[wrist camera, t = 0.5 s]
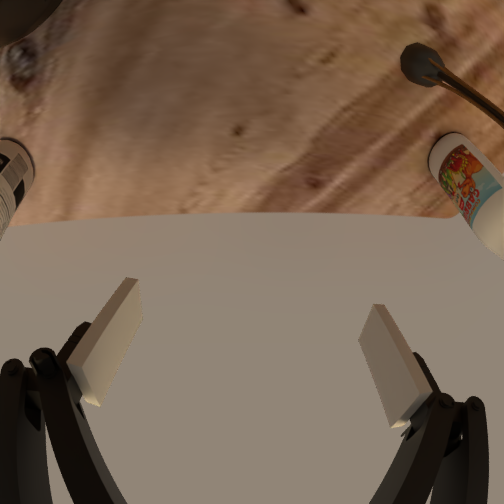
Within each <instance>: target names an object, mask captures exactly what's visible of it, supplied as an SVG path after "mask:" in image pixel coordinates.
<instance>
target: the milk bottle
mask: <svg viewBox="0 0 504 504" xmlns="http://www.w3.org/2000/svg"><path fill="white" fill-rule="evenodd" d="M429 168H430V171H431V173H432V175H433V176H434V178H435V179H436V180H437V181H438V183H439V184H440V185H441V187H442V188H443V189H444V191H445V192H446V193H447V195H448V196H449V197H450V199H451V200H452V202H453V203H454V204H455V206H456V207H457V209H458V210H459V211H460V213H461V214H462V216H463V217H464V218H465V220H466V222H467V223H468V224H469V226H470V228H471V229H472V230H473V232H474V233H475V235H476V236H477V237H478V239H479V240H480V241H481V242H482V243H483V244H484V245H485V246H486V247H487V248H488V249H489V250H491V251H492V252H494V253H495V254H496V255H498V256H499V257H500V258H501V259H503V260H504V177H503V176H502V174H501V173H500V172H499V171H498V170H497V168H496V167H495V166H494V165H493V164H492V163H491V162H490V161H489V160H488V159H487V158H486V156H485V155H484V154H483V153H482V152H481V151H480V150H479V149H478V148H477V147H476V146H475V145H474V144H473V143H472V142H470V141H469V140H468V139H467V138H466V137H465V136H463V135H461V134H458V133H451V134H448V135H445V136H444V137H442V138H441V139H440V140H439V141H438V142H437V143H436V144H435V146H434V147H433V149H432V151H431V153H430V157H429Z"/></svg>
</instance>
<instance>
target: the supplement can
mask: <svg viewBox="0 0 504 504" xmlns="http://www.w3.org/2000/svg"><path fill="white" fill-rule="evenodd" d="M32 182H33V167H32V164H31V161H30V158H29V156H28V154H27V153H26V151H25V150H24V149H23V148H22V147H21V146H20V145H19V144H17V143H14V142H12V141H9V140H0V240H1V238H2V236H3V234H4V232H5V230H6V228H7V226H8V224H9V223H10V221H11V219H12V217H13V215H14V213H15V212H16V210H17V208H18V206H19V205H20V203H21V201H22V200H23V198H24V196H25V195H26V193H27V192H28V190H29V189H30V187H31V184H32Z"/></svg>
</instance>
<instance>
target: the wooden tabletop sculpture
mask: <svg viewBox="0 0 504 504" xmlns="http://www.w3.org/2000/svg"><path fill="white" fill-rule="evenodd" d="M401 70H402V72H403V73H404V74H405V76H406V77H407V78H408V80H409V81H411V82H413V83H416V84H419V85H422V86H425V87H433V86H435V85H439V86H441V87H444V88H446V89H448V90H450V91H452V92H454V93H456V94H458V95H459V96H461V97H463V98H464V99H466V100H467V101H469V102H470V103H472V104H473V105H475V106H476V107H477V108H479V109H480V110H481V111H483V112H484V113H485V114H487V115H488V116H489V117H490V118H492V119H493V120H494V121H495V122H496V123H498V124H499V125H500V126H501V127H502V128H503V129H504V112H503V111H502V110H501V109H500V108H498V107H497V106H496V105H495V104H493V103H492V102H491V101H489V100H488V99H487V98H485V97H484V96H483V95H481V94H480V93H479V92H477V91H476V90H475V89H473V88H472V87H470V86H469V85H468V84H466V83H465V82H464V81H462V80H461V79H460V78H458V77H457V76H456V75H454V74H453V73H452V72H451V71H449V70H448V69H447V68H446V67H445V64H444V63H443V61H442V59H441V58H440V56H439V55H438V53H437V52H436V51H435V50H433V49H432V48H429V47H427V46H425V45H422V44H420V43H414V44H411V45H409V46H406V48H405V50H404V52H403V53H402V55H401ZM445 73H446V74H447V75H446V74H445ZM448 75H449V76H448ZM442 80H443V81H444V82H446V83H447V84H449V85H451V86H452V87H454V88H455V89H454V88H452V87H451V86H449V85H447V84H445V83H443V82H442ZM456 89H457V90H456Z"/></svg>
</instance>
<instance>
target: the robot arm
mask: <svg viewBox="0 0 504 504" xmlns="http://www.w3.org/2000/svg"><path fill="white" fill-rule="evenodd" d="M61 1H62V0H0V48H1V47H4V46H6V45H8V44H10V43H13V42H15V41H17V40H19V39H21V38H23V37H25V36H26V35H28V34H29V33H31V32H32V31H33V30H35V29H36V28H37V27H38V26H39V25H41V24H42V23H43V22H44V21H45V20H46V19H47V18H48V17H49V16H50V14H51V13H52V12H53V11H54V10H55V9H56V7H57V6H58V5H59V4H60V2H61ZM142 320H143V315H142V306H141V298H140V290H139V280H138V279H133V278H127V277H126V278H125V280H124V281H123V282H122V284H121V285H120V286H119V287H118V289H117V290H116V291H115V293H114V294H113V295H112V297H111V298H110V299H109V301H108V302H107V303H106V305H105V306H104V307H103V309H102V310H101V312H100V313H99V314H98V316H97V317H96V319H95V320H94V321H93V323H89V322H83V323H82V324H81V325H79V326H78V327H77V328H76V329H75V330H74V332H73V333H72V336H70V337H69V339H68V341H67V342H66V343H65V344H64V346H63V347H62V349H61V350H60V352H59V353H58V355H57V356H56V355H55V352H54V351H53V350H52V349H50V348H39V349H37V350H36V351H34V352H33V353H32V354H31V356H30V358H29V363H30V364H31V367H32V368H26V367H24V365H23V363H22V362H21V361H20V360H19V359H10V360H8V361H6V362H5V363H4V364H3V366H2V369H1V374H0V504H53V502H52V497H51V491H50V484H49V476H48V467H47V455H46V435H45V422H46V426H47V430H48V434H49V438H50V441H51V445H52V448H53V451H54V454H55V457H56V460H57V463H58V466H59V469H60V471H61V474H62V477H63V479H64V482H65V484H66V487H67V489H68V491H69V493H70V496H71V498H72V500H73V503H74V504H127V502H126V501H125V499H124V497H123V496H122V494H121V492H120V491H119V489H118V487H117V485H116V483H115V482H114V480H113V478H112V476H111V474H110V472H109V470H108V468H107V466H106V464H105V462H104V460H103V458H102V456H101V453H100V451H99V449H98V447H97V444H96V442H95V439H94V437H93V435H92V432H91V430H90V427H89V424H88V422H87V419H86V416H85V414H84V411H83V408H82V405H81V403H80V399H81V397H82V395H83V397H84V399H85V400H86V402H88V403H91V404H94V405H96V406H100V407H101V405H102V403H103V400H104V398H105V396H106V394H107V391H108V389H109V387H110V385H111V383H112V380H113V378H114V376H115V374H116V372H117V370H118V368H119V366H120V364H121V362H122V359H123V358H124V355H125V353H126V351H127V349H128V347H129V345H130V343H131V341H132V339H133V337H134V336H135V334H136V331H137V329H138V328H139V326H140V324H141V322H142ZM358 340H359V343H360V346H361V348H362V351H363V353H364V356H365V358H366V361H367V364H368V366H369V368H370V371H371V374H372V377H373V379H374V382H375V385H376V388H377V390H378V393H379V395H380V399H381V402H382V404H383V407H384V410H385V413H386V416H387V419H388V422H389V425H390V428H395V427H400V426H403V425H404V424H405V423H406V422H407V421H408V420H409V419H410V421H411V425H410V426H409V427H408V428H407V429H406V430H405V431H404V432H403V433H402V435H401V437H402V436H403V435H404V434H405V437H404V439H403V441H402V443H401V445H400V448H399V450H398V452H397V454H396V456H395V458H394V460H393V462H392V464H391V466H390V468H389V470H388V472H387V474H386V475H385V477H384V479H383V481H382V483H381V484H380V486H379V488H378V490H377V491H376V493H375V495H374V496H373V498H372V499H371V501H370V503H369V504H425V503H426V501H427V499H428V496H429V494H430V492H431V489H432V487H433V490H432V496H431V501H430V504H487V498H488V483H489V449H488V433H487V422H486V413H485V407H484V403H483V402H482V400H481V399H479V398H478V397H476V396H471V397H469V398H468V399H467V401H466V402H465V403H463V402H455V401H454V399H453V398H452V397H451V396H450V395H448V394H446V393H441V391H440V389H439V387H438V385H437V383H436V382H435V380H434V378H433V376H432V374H431V373H430V370H429V369H428V367H427V365H426V363H425V361H424V359H423V358H422V357H421V356H420V355H419V354H418V353H416V352H412V351H411V349H410V347H409V346H408V344H407V342H406V340H405V339H404V337H403V335H402V333H401V332H400V330H399V328H398V327H397V325H396V323H395V321H394V320H393V318H392V316H391V315H390V314H389V312H388V310H387V309H386V307H385V305H381V304H373V306H372V309H371V311H370V314H369V316H368V318H367V321H366V323H365V325H364V328H363V330H362V333H361V335H360V337H359V339H358ZM461 435H462V437H463V438H462V440H461Z"/></svg>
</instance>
